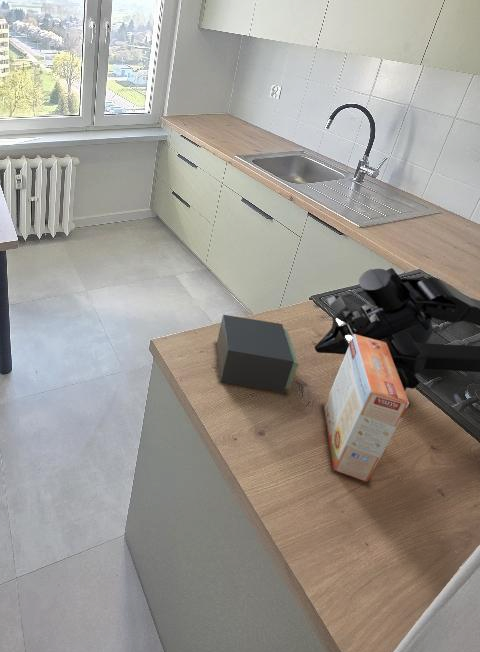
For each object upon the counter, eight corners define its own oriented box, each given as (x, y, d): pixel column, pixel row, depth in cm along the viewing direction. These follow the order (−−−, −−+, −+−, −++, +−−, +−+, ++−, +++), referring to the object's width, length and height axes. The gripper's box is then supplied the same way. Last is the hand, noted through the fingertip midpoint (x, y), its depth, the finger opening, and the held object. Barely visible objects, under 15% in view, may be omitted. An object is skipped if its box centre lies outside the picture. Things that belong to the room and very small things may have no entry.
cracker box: (369, 484, 74) (411, 404, 66) (332, 471, 76) (368, 391, 67) (354, 416, 86) (388, 341, 78) (322, 406, 88) (352, 331, 79)
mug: (420, 372, 98) (438, 335, 93) (375, 350, 103) (391, 314, 98) (427, 344, 106) (444, 309, 101) (385, 325, 111) (400, 291, 107)
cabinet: (273, 353, 101) (282, 323, 97) (283, 392, 91) (294, 361, 87) (216, 343, 102) (223, 314, 99) (220, 381, 93) (228, 350, 89)
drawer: (285, 354, 99) (292, 330, 96) (295, 389, 90) (304, 364, 87) (226, 344, 101) (232, 320, 98) (231, 378, 92) (237, 352, 89)
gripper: (348, 265, 92) (284, 297, 98) (386, 326, 75) (306, 360, 81) (375, 299, 94) (311, 328, 100) (418, 365, 77) (338, 395, 83)
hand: (315, 349), depth 91 cm, fingers closed
